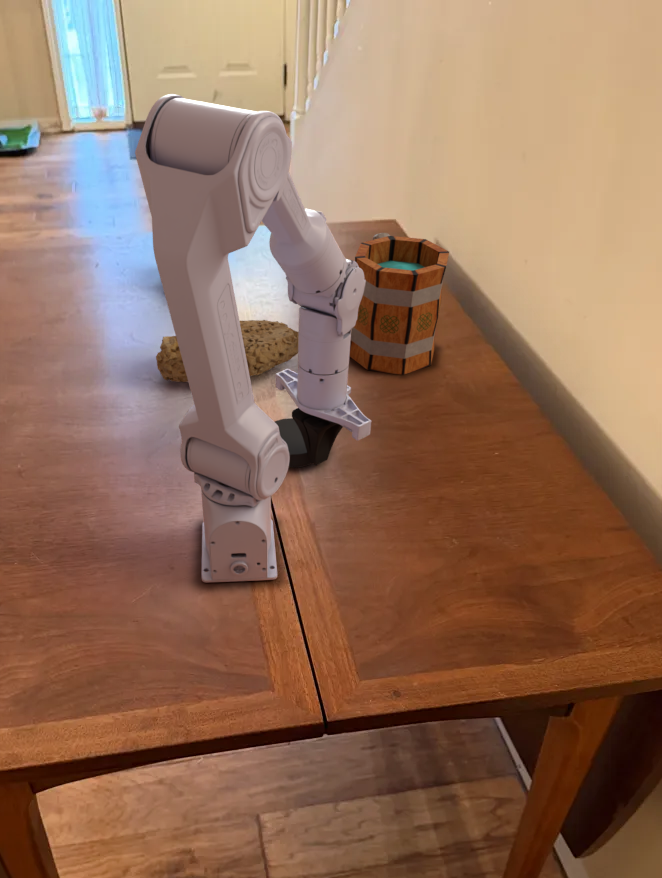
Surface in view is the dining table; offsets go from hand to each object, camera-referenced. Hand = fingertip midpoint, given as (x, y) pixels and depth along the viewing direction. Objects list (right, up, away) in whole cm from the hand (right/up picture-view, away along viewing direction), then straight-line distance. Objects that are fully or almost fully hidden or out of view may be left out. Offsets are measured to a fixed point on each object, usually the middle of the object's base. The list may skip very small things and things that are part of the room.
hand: (318, 460), depth 96 cm
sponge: (-12, +15, +18) cm, 26 cm away
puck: (-3, +2, +3) cm, 5 cm away
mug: (+12, +21, +24) cm, 34 cm away
